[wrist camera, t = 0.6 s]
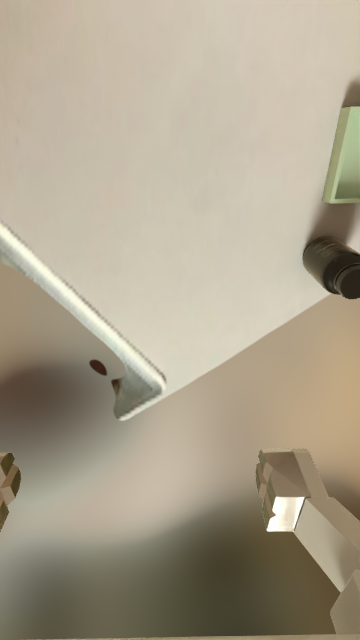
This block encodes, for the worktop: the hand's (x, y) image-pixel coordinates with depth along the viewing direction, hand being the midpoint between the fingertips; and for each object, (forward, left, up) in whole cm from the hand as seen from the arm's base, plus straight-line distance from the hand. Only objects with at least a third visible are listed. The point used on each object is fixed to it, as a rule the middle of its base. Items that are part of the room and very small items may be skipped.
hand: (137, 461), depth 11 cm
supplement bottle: (+9, +26, -45) cm, 53 cm away
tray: (-6, +29, -45) cm, 54 cm away
